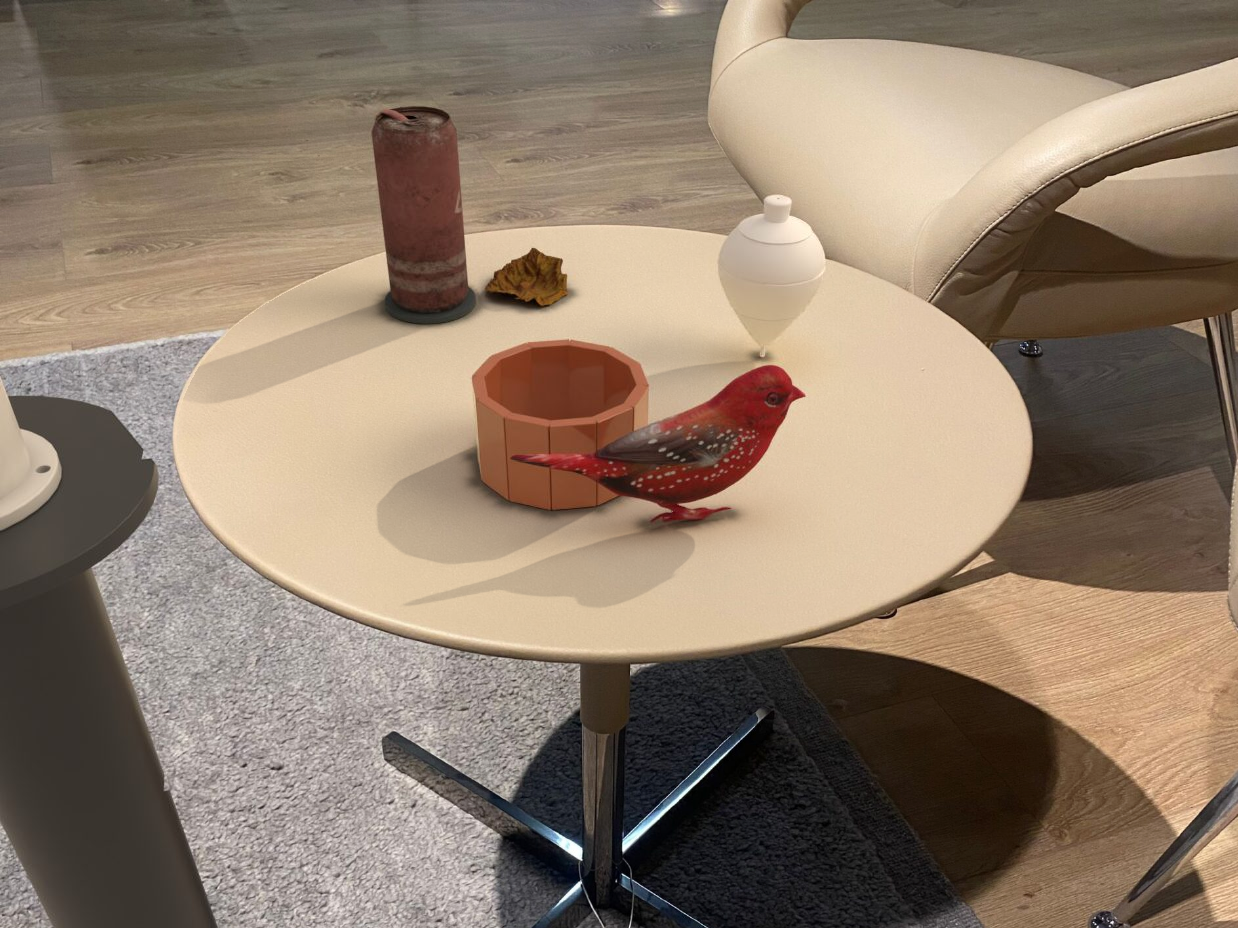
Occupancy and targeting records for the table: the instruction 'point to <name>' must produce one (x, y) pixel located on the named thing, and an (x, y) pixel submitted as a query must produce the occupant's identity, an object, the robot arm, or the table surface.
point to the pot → (553, 416)
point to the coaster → (431, 317)
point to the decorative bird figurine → (690, 446)
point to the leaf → (531, 278)
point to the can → (421, 207)
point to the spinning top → (771, 270)
